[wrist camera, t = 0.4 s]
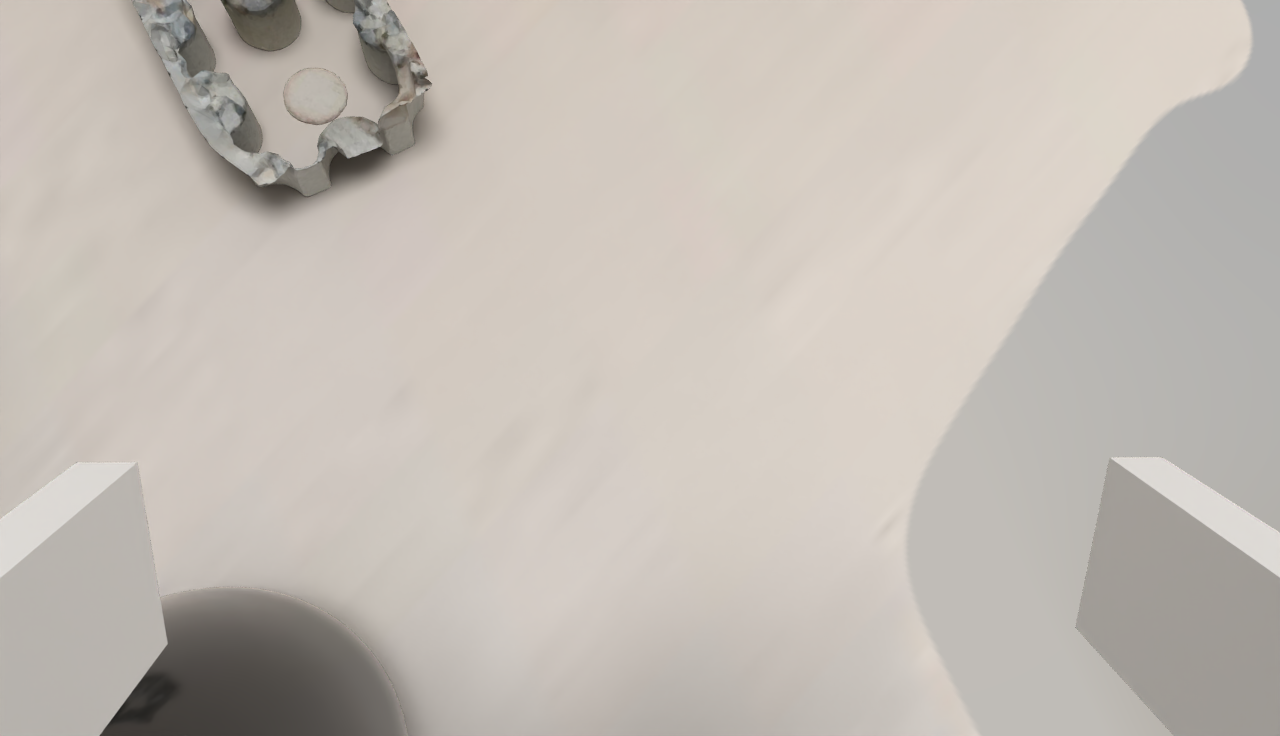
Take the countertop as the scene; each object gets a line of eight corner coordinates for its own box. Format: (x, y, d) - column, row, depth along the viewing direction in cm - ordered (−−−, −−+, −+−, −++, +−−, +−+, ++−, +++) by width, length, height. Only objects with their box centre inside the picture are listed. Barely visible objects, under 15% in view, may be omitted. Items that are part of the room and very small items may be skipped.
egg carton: (451, 144, 33) (444, 86, 29) (256, 229, 31) (220, 179, 27) (322, -87, 34) (298, -174, 30) (128, -19, 32) (75, -101, 28)
